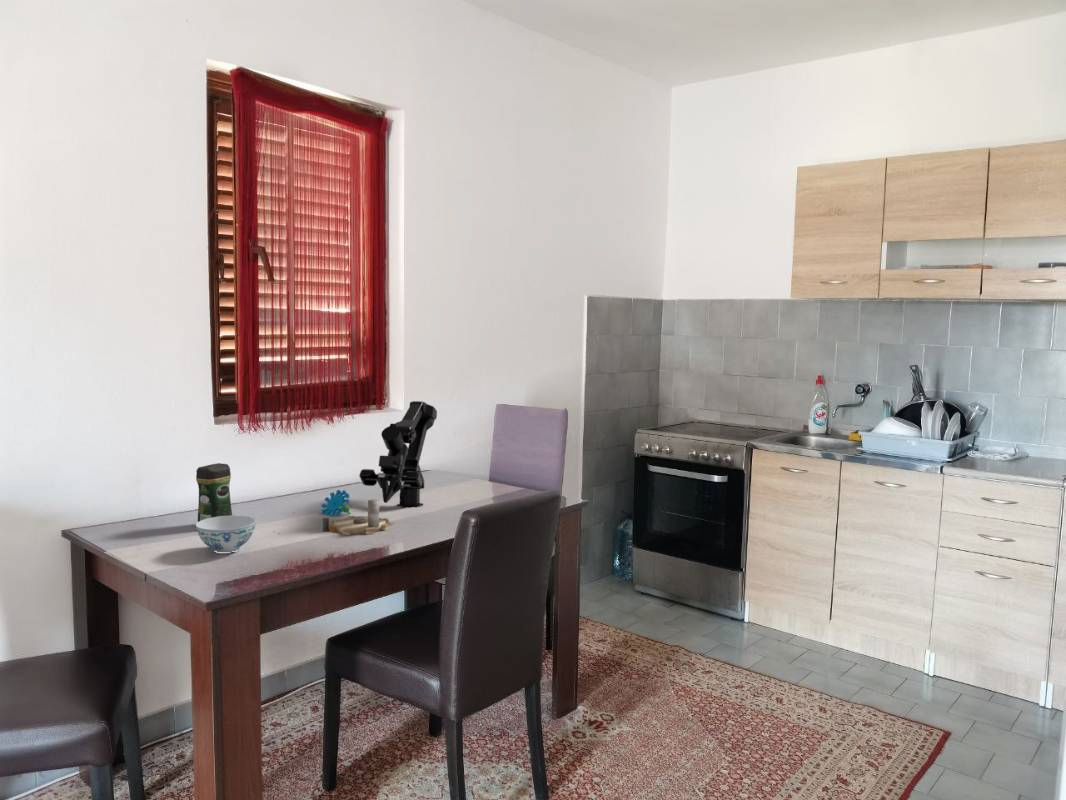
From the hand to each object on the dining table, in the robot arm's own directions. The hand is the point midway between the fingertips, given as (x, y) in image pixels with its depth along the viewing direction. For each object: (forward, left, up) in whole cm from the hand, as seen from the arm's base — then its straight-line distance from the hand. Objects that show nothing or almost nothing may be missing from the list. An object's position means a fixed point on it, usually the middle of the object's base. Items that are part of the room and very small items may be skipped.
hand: (384, 502), depth 246 cm
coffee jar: (+31, -40, -7) cm, 51 cm away
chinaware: (+45, -15, -7) cm, 48 cm away
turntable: (+8, -2, -6) cm, 11 cm away
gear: (0, -21, -7) cm, 22 cm away
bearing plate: (+8, -2, -7) cm, 11 cm away
